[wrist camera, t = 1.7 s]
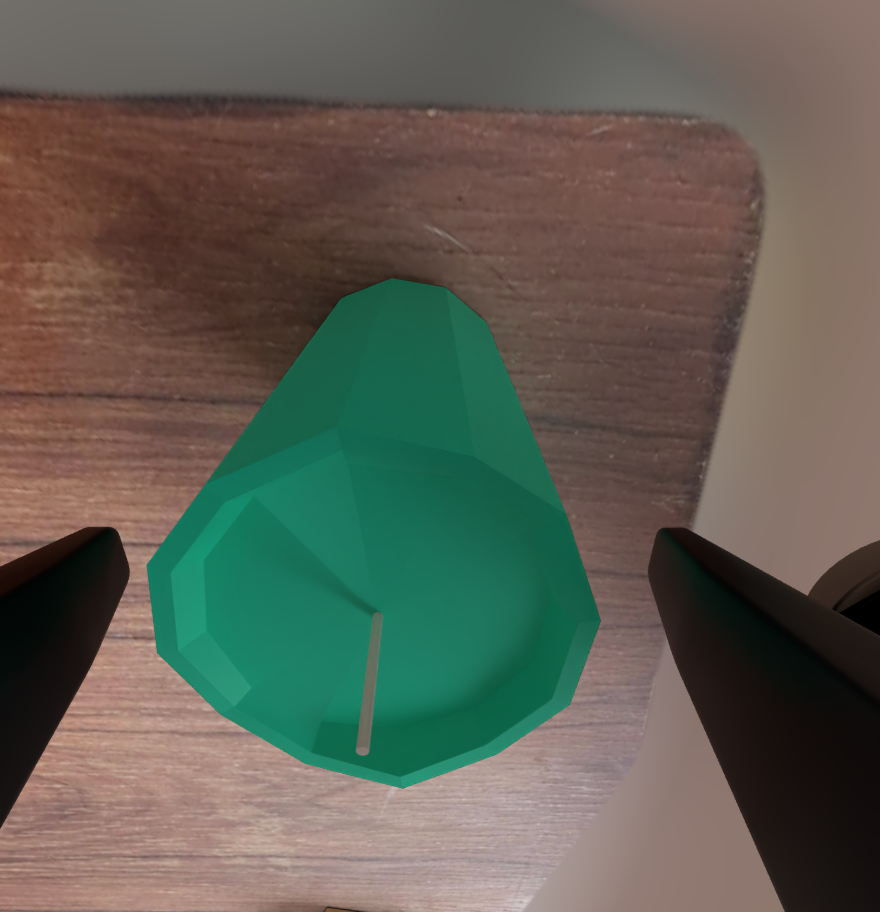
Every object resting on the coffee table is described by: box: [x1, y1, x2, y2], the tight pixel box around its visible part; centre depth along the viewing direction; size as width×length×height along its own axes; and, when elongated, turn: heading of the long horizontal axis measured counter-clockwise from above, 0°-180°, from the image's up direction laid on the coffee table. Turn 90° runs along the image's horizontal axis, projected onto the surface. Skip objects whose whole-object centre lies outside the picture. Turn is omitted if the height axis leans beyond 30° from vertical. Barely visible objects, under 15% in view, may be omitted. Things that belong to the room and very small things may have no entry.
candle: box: [147, 278, 601, 789], centre depth 11 cm, size 6×6×12 cm
